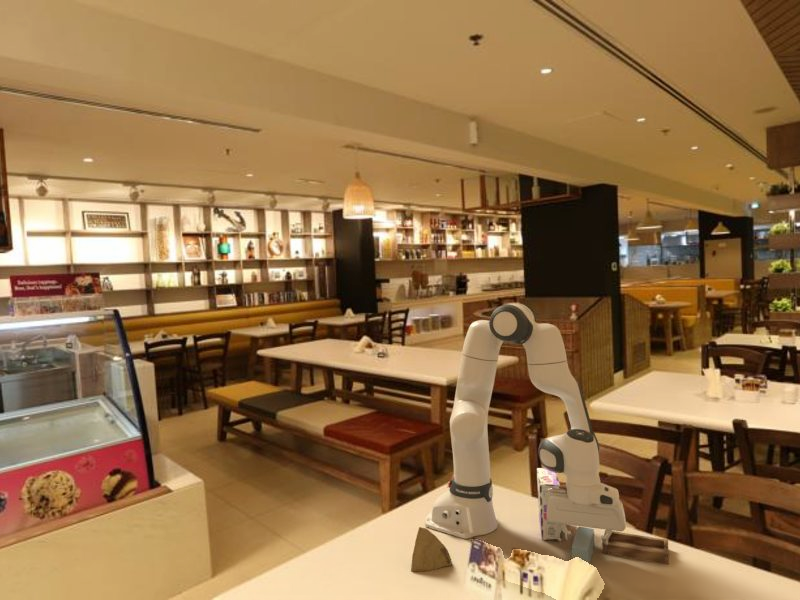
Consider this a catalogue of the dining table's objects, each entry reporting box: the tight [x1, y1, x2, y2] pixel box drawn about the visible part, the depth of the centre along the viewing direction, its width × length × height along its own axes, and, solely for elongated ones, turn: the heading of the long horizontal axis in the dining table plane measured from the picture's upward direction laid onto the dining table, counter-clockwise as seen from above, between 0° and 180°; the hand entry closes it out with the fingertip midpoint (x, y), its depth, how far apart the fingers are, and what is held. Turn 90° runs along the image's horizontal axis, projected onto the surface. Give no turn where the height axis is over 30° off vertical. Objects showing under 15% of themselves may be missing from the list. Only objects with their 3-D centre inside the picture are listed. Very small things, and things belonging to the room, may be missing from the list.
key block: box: [571, 526, 595, 564], centre depth 141 cm, size 4×12×5 cm, turn 153°
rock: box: [410, 526, 453, 573], centre depth 139 cm, size 11×9×10 cm
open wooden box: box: [601, 529, 670, 565], centre depth 142 cm, size 16×8×4 cm, turn 63°
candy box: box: [536, 467, 563, 542], centre depth 156 cm, size 14×6×16 cm, turn 168°
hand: (586, 541), depth 141 cm, fingers open, 8 cm apart
